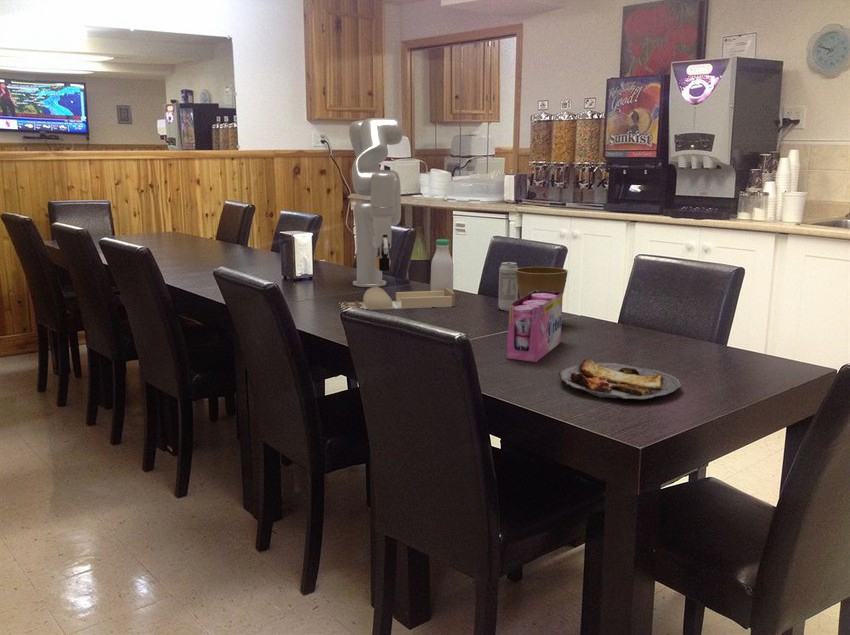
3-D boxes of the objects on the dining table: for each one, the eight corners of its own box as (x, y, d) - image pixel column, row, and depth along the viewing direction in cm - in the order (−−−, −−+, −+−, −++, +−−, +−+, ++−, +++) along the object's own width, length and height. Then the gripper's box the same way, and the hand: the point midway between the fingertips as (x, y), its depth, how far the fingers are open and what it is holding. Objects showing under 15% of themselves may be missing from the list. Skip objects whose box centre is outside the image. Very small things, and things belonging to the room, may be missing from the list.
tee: (339, 304, 250) (339, 300, 250) (360, 303, 252) (360, 300, 252) (341, 308, 244) (341, 304, 244) (363, 307, 245) (363, 304, 245)
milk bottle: (456, 298, 263) (457, 240, 259) (435, 300, 260) (436, 241, 256) (447, 295, 270) (448, 238, 266) (427, 296, 267) (427, 238, 263)
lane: (339, 311, 253) (338, 287, 251) (446, 308, 260) (447, 284, 259) (342, 318, 242) (342, 293, 241) (454, 314, 250) (455, 290, 248)
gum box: (535, 364, 183) (537, 308, 180) (504, 360, 186) (505, 305, 183) (561, 342, 204) (563, 291, 201) (532, 339, 207) (534, 289, 204)
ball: (374, 269, 249) (373, 254, 248) (389, 268, 250) (389, 253, 249) (376, 271, 244) (376, 255, 243) (391, 271, 245) (391, 255, 244)
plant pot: (573, 322, 228) (576, 268, 224) (551, 331, 216) (554, 275, 212) (528, 316, 236) (530, 264, 233) (505, 324, 224) (506, 270, 220)
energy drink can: (519, 308, 247) (521, 262, 244) (513, 312, 241) (515, 265, 238) (501, 307, 249) (503, 261, 246) (495, 310, 244) (496, 263, 241)
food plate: (541, 388, 163) (542, 373, 162) (583, 365, 182) (584, 351, 181) (658, 414, 149) (660, 397, 149) (690, 386, 168) (692, 371, 168)
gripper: (367, 210, 251) (367, 266, 255) (374, 214, 235) (375, 273, 238) (389, 210, 252) (390, 265, 256) (398, 214, 236) (399, 272, 240)
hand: (382, 268), depth 247 cm, fingers closed on ball, 4 cm apart
